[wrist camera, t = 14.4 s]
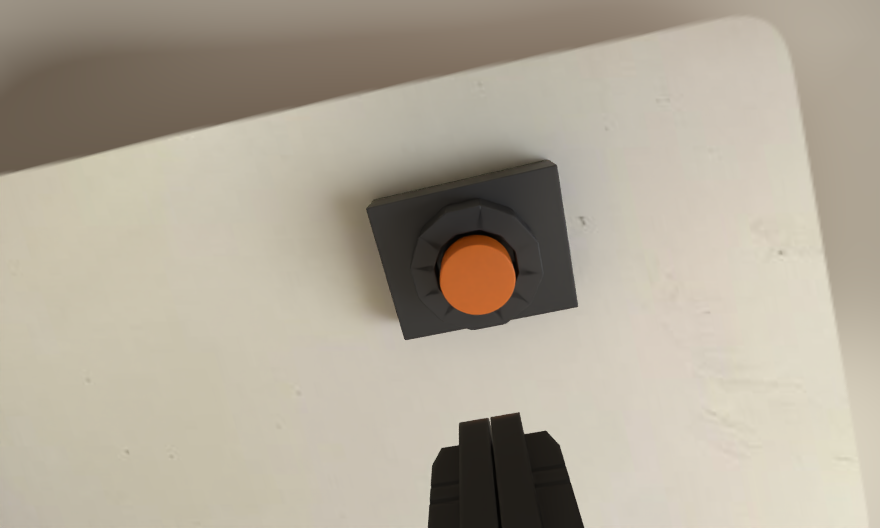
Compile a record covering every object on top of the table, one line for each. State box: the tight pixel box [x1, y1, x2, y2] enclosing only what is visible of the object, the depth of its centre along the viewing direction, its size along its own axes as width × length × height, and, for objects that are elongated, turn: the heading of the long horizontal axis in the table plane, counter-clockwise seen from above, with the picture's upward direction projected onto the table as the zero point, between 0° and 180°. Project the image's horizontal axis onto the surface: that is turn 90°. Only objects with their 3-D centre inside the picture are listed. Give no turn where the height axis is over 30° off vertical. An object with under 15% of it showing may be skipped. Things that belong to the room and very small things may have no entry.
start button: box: [440, 235, 516, 315], centre depth 22 cm, size 4×4×2 cm
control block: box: [366, 160, 578, 340], centre depth 25 cm, size 10×8×4 cm
